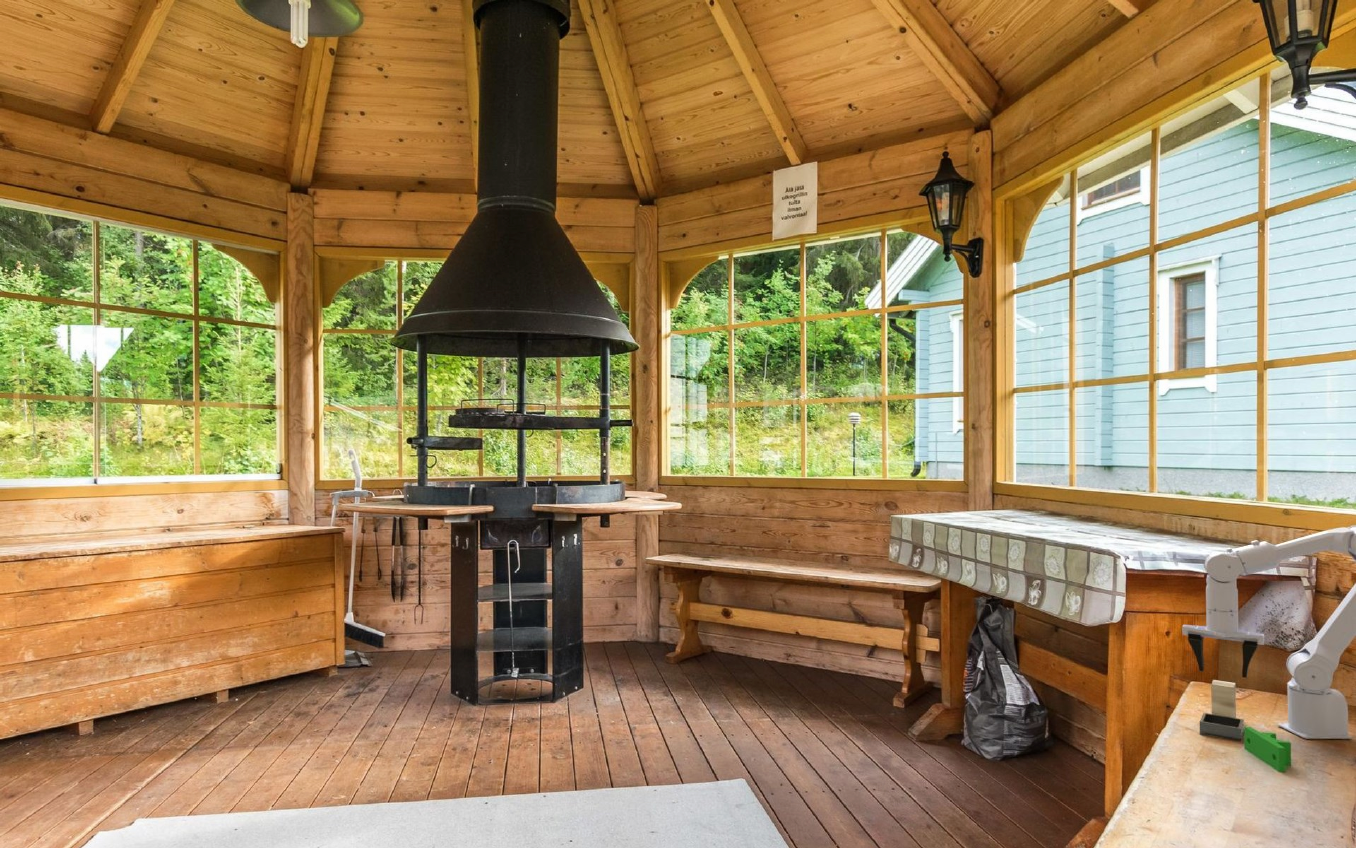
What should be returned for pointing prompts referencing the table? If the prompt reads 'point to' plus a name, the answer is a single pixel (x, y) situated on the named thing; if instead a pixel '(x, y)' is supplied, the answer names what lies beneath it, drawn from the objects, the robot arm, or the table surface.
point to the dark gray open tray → (1222, 726)
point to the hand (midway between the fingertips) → (1222, 673)
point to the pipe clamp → (1268, 748)
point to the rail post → (1223, 698)
